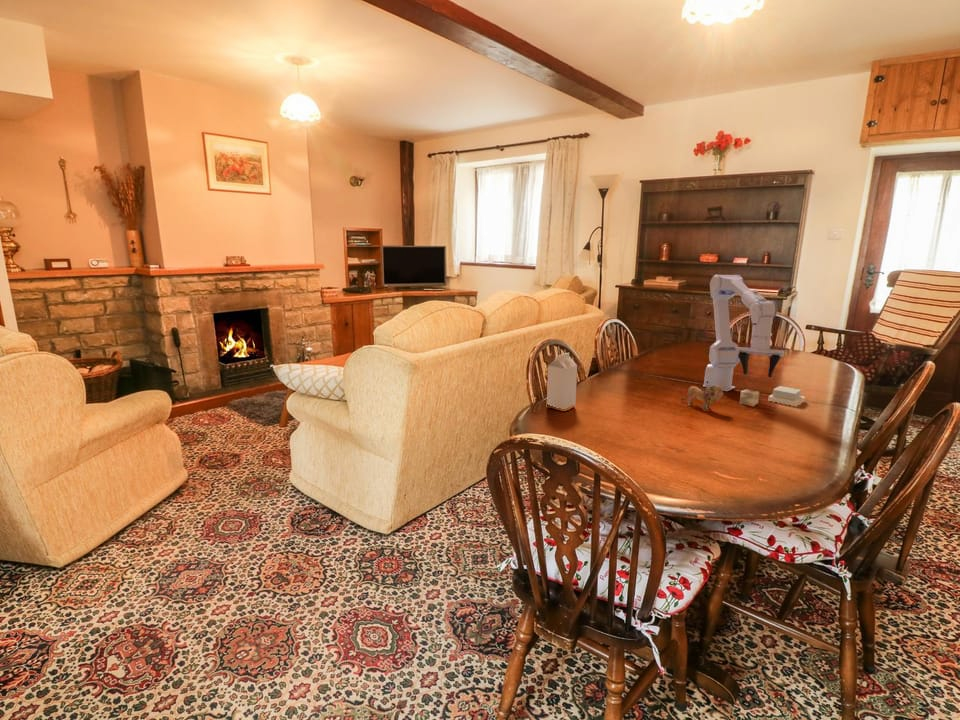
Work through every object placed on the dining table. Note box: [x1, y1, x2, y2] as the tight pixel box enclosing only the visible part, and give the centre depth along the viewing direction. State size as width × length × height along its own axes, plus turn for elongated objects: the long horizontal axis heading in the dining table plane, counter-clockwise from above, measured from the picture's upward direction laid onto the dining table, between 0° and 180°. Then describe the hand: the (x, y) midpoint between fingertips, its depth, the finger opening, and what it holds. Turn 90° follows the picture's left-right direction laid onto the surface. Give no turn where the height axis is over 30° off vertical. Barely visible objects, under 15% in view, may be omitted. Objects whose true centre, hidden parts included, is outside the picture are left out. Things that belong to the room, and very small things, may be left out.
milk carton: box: [546, 352, 578, 409], centre depth 167 cm, size 7×7×19 cm
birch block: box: [739, 388, 760, 407], centre depth 174 cm, size 4×4×4 cm
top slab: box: [771, 385, 802, 401], centre depth 177 cm, size 7×7×2 cm
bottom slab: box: [767, 394, 806, 408], centre depth 178 cm, size 9×9×2 cm
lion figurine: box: [680, 385, 724, 412], centre depth 170 cm, size 15×5×9 cm, turn 34°
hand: (757, 375), depth 172 cm, fingers open, 7 cm apart
